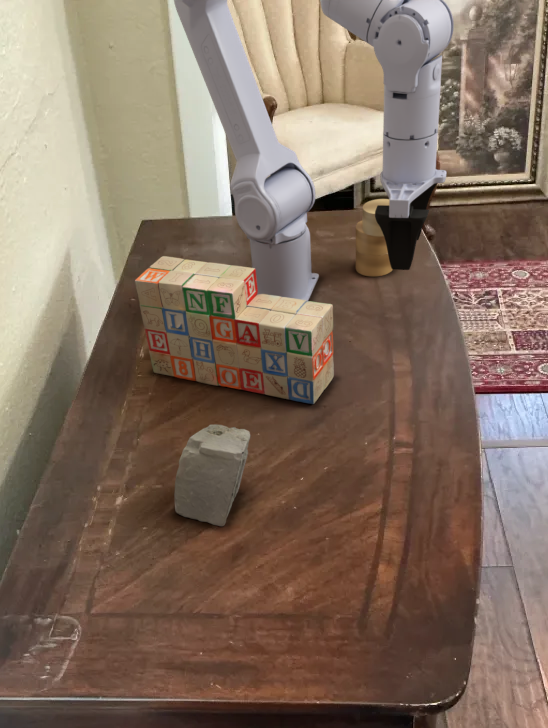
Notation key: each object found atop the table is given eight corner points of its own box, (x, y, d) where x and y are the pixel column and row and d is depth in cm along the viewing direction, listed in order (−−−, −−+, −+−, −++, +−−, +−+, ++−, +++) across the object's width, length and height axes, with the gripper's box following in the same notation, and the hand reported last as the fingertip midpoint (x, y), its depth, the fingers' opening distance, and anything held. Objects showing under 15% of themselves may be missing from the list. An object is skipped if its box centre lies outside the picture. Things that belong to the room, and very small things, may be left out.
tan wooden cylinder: (367, 219, 116) (367, 197, 114) (403, 222, 115) (403, 199, 113) (358, 235, 113) (358, 212, 111) (394, 237, 112) (395, 215, 110)
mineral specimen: (257, 527, 81) (231, 461, 76) (177, 528, 85) (147, 465, 80) (278, 476, 86) (255, 411, 81) (201, 479, 90) (174, 417, 85)
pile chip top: (359, 237, 119) (359, 216, 117) (397, 239, 118) (397, 217, 116) (352, 254, 116) (352, 233, 114) (391, 256, 114) (391, 234, 112)
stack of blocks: (335, 377, 100) (333, 278, 92) (314, 406, 96) (309, 306, 88) (177, 347, 108) (161, 253, 100) (151, 373, 104) (133, 278, 96)
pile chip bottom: (359, 258, 121) (359, 237, 119) (396, 260, 120) (397, 239, 118) (352, 275, 118) (352, 254, 116) (390, 277, 116) (391, 256, 114)
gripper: (441, 156, 85) (433, 284, 95) (455, 107, 95) (447, 227, 105) (370, 156, 87) (368, 281, 96) (391, 108, 97) (389, 225, 106)
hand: (405, 253), depth 101 cm, fingers open, 7 cm apart
